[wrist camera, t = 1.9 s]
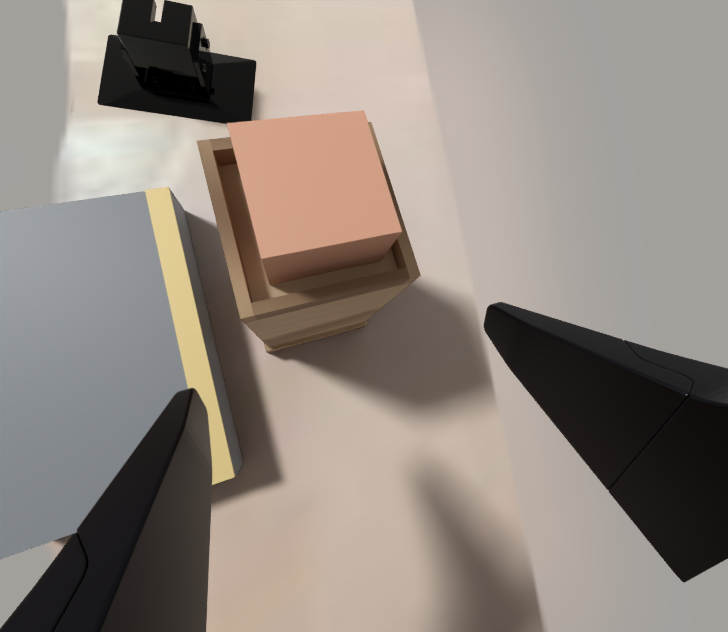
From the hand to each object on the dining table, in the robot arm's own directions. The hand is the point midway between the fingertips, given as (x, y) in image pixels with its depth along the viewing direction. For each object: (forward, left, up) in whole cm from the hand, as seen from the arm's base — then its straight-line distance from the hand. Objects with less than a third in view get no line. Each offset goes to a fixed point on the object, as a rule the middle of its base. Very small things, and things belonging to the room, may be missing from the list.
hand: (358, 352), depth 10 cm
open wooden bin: (+5, 0, -11) cm, 12 cm away
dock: (+4, +11, -11) cm, 16 cm away
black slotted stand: (+21, +4, -12) cm, 25 cm away
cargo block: (+5, 0, -1) cm, 5 cm away
